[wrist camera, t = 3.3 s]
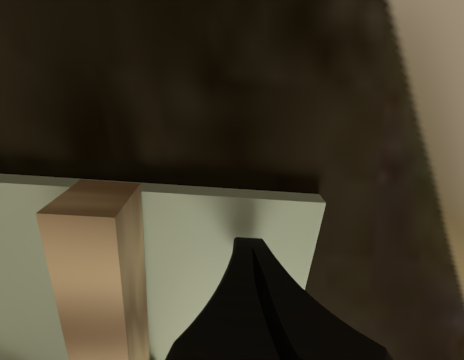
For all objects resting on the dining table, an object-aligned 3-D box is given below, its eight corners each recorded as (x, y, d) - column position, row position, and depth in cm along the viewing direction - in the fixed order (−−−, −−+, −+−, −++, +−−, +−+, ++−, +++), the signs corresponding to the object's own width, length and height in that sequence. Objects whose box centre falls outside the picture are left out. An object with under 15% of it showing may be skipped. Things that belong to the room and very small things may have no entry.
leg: (158, 389, 17) (145, 454, 14) (103, 388, 17) (77, 454, 14) (151, 184, 12) (127, 221, 9) (68, 178, 12) (15, 215, 9)
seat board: (268, 411, 21) (270, 427, 20) (-54, 406, 19) (-68, 423, 18) (318, 194, 14) (326, 203, 13) (-189, 161, 12) (-223, 168, 11)
